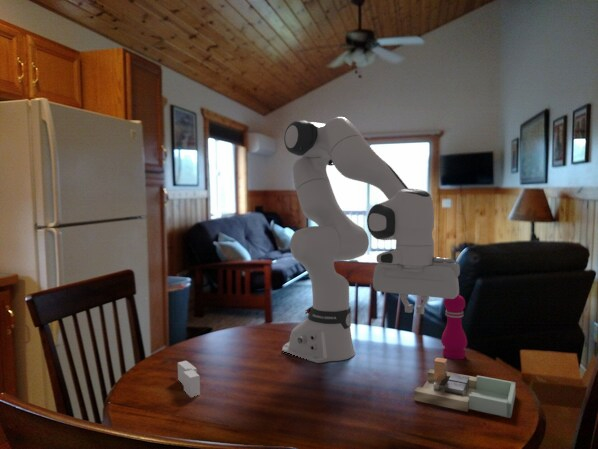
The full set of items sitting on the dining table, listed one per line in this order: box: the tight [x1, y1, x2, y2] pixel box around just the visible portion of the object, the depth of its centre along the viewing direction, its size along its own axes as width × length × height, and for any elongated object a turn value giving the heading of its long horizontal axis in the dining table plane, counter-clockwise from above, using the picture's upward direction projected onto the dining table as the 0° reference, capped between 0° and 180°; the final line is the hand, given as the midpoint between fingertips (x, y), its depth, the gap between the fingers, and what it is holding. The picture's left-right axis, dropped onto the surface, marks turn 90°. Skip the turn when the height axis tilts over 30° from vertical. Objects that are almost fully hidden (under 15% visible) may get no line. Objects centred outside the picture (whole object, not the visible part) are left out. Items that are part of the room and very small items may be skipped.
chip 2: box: [444, 381, 466, 397], centre depth 100 cm, size 4×4×3 cm
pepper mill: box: [441, 294, 468, 361], centre depth 128 cm, size 7×7×20 cm
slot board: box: [413, 368, 477, 413], centre depth 103 cm, size 12×15×3 cm
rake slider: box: [433, 357, 448, 392], centre depth 103 cm, size 2×9×7 cm, turn 150°
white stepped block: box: [177, 360, 201, 398], centre depth 109 cm, size 15×11×6 cm
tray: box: [468, 375, 517, 419], centre depth 98 cm, size 8×12×4 cm
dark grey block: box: [449, 373, 469, 395], centre depth 104 cm, size 4×4×3 cm
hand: (414, 312), depth 106 cm, fingers closed
